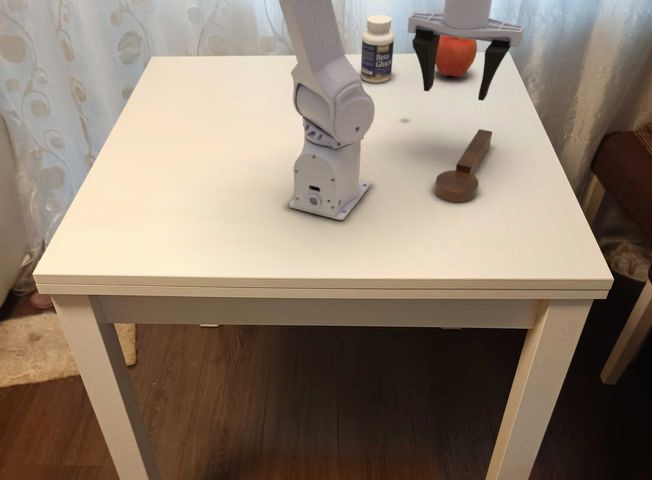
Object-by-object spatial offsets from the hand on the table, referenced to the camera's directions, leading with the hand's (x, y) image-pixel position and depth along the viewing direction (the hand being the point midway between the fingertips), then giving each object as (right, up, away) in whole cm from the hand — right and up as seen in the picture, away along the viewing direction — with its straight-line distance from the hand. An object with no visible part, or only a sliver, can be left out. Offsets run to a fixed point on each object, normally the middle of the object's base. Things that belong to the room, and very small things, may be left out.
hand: (455, 92), depth 88 cm
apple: (+5, +13, +25) cm, 29 cm away
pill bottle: (-8, +13, +26) cm, 30 cm away
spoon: (+2, -10, +2) cm, 11 cm away
